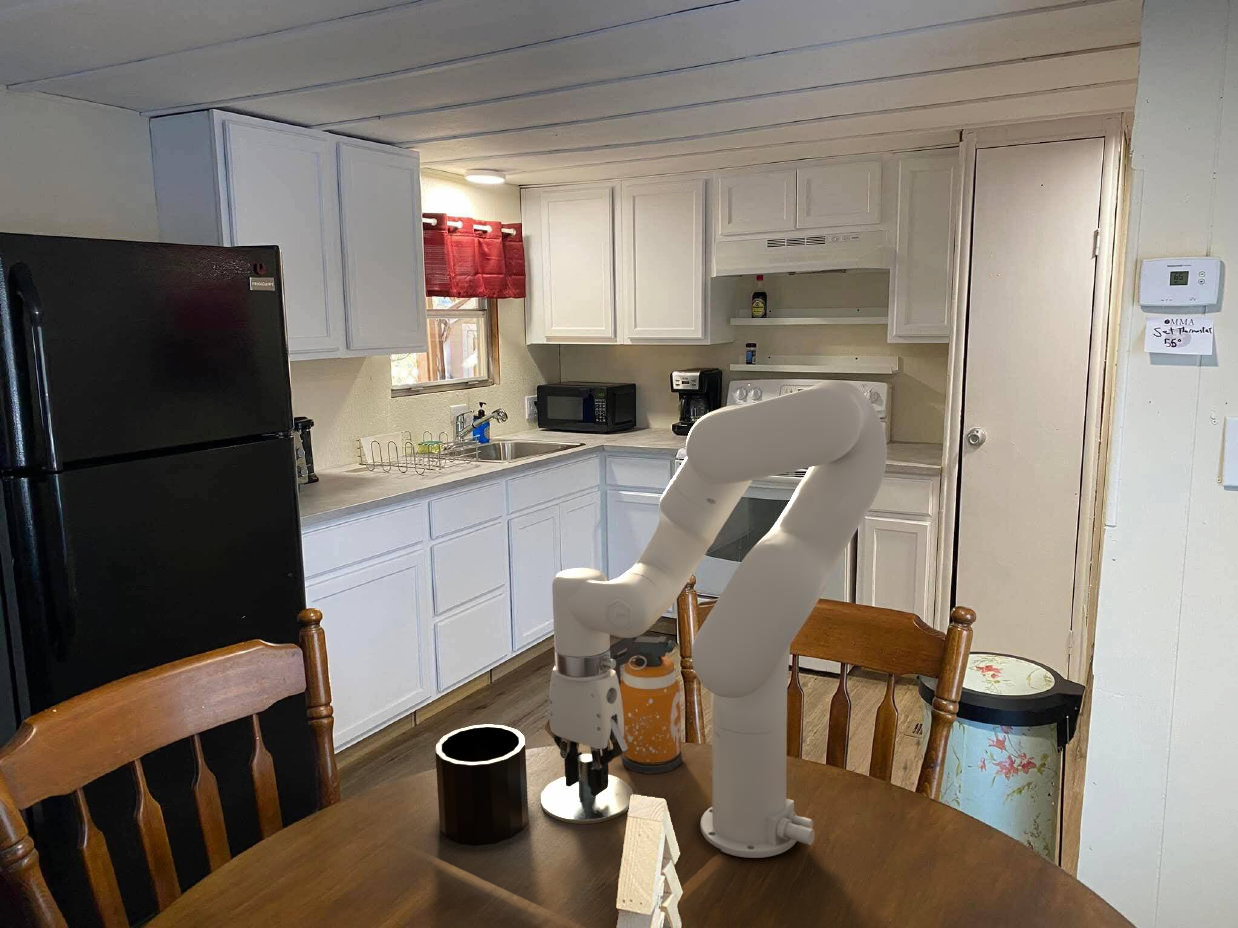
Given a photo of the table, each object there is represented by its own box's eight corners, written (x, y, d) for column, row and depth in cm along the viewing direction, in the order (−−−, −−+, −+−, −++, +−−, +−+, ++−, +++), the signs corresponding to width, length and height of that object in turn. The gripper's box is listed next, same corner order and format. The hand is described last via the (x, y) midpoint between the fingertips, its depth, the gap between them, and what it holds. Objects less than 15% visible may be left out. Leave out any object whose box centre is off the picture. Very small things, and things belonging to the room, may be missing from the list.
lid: (651, 796, 128) (650, 751, 127) (595, 838, 117) (594, 790, 116) (580, 772, 135) (578, 729, 134) (522, 809, 125) (519, 764, 124)
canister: (676, 780, 132) (674, 648, 129) (602, 774, 134) (598, 644, 131) (684, 751, 141) (682, 627, 138) (614, 746, 143) (611, 624, 140)
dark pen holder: (546, 818, 123) (542, 737, 121) (485, 859, 113) (480, 773, 112) (484, 794, 129) (480, 717, 128) (422, 831, 120) (416, 749, 119)
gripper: (649, 664, 121) (651, 792, 124) (553, 641, 131) (558, 760, 134) (615, 682, 115) (619, 816, 118) (518, 657, 125) (523, 781, 128)
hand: (586, 785), depth 126 cm, fingers open, 3 cm apart
